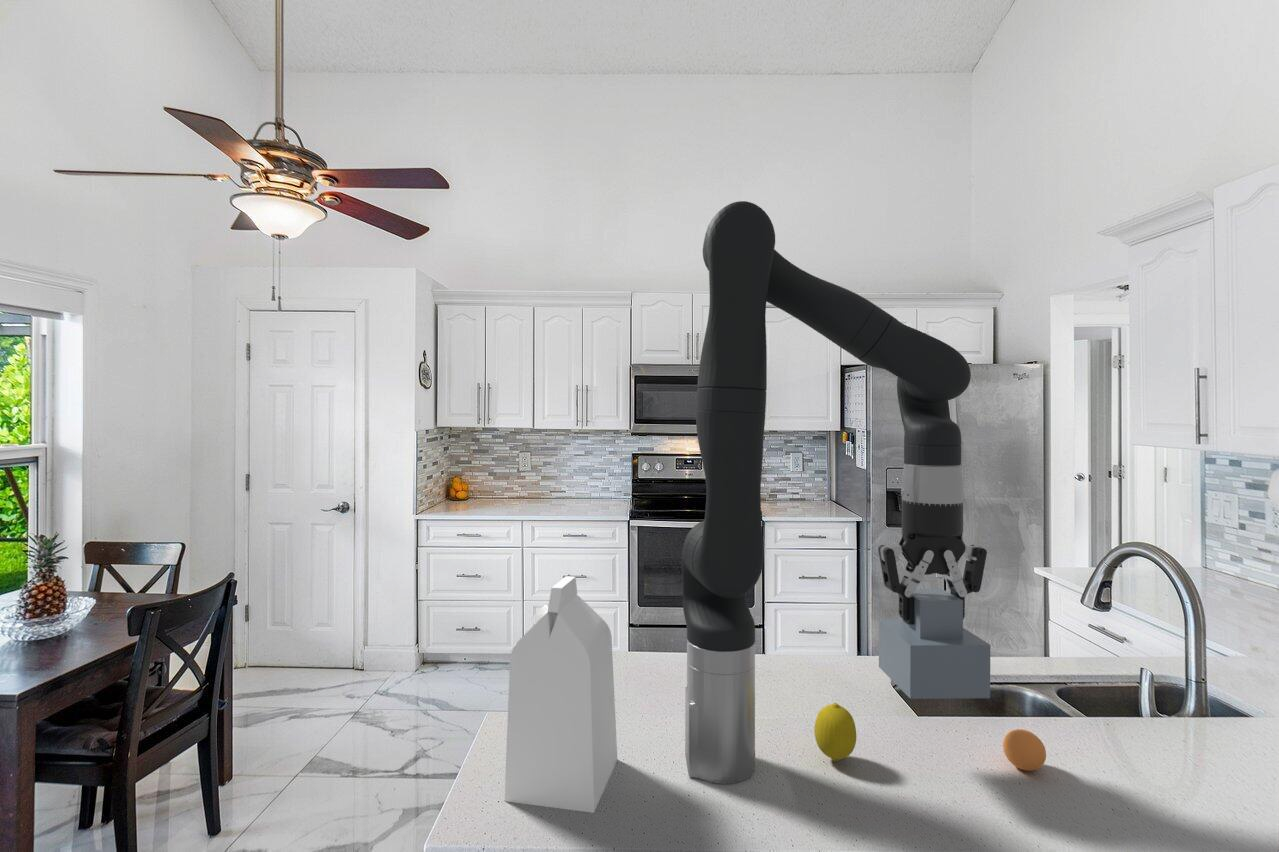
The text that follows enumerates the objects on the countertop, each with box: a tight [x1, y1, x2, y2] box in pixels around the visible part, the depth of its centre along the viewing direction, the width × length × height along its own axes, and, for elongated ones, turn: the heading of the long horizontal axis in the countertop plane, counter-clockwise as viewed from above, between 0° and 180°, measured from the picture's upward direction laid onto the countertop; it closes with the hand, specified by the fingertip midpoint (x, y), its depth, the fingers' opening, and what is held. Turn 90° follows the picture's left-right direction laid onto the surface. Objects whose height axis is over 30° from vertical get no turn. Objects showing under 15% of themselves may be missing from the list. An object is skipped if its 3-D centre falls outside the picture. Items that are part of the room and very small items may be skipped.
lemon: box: [814, 702, 857, 763], centre depth 87 cm, size 6×6×8 cm
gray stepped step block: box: [878, 588, 991, 700], centre depth 84 cm, size 10×10×12 cm
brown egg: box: [1002, 728, 1047, 772], centre depth 85 cm, size 5×5×5 cm
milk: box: [503, 575, 618, 814], centre depth 82 cm, size 12×12×26 cm
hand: (931, 622), depth 84 cm, fingers closed on gray stepped step block, 5 cm apart
